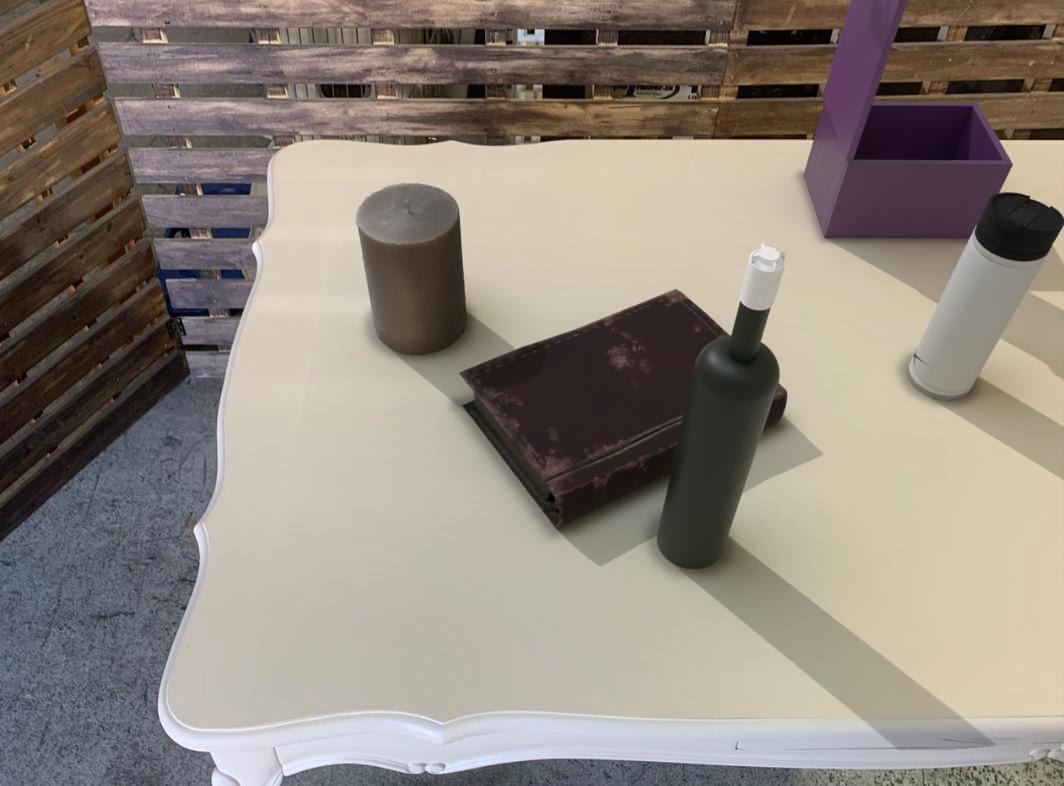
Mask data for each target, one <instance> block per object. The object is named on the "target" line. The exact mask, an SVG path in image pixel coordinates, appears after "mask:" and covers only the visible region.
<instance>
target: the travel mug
mask: <svg viewBox="0 0 1064 786" xmlns="http://www.w3.org/2000/svg"><path fill="white" fill-rule="evenodd" d="M1063 228H1064V216H1063V214H1062V213H1061V212H1060V210H1058V209H1057V208H1055V207H1054V206H1053V205H1050V206H1048V205H1047V204H1046V203H1045V204H1044V203H1043V202H1041V201H1038V200H1035V199H1032V198H1031V195H1029V194H1028V195H1027V194H1024V193H1021V192H1013V191H1012V192H1010V191H1003V192H999V193H998V194H995V195H993V196H992V197H991V198H990V199H989V201H988V203H987V205H986V207H985V209H984V211H983V214H982V216H981V218H980V220H979V222H978V224H977V225H976V226H975V229H974V231H973V233H972V235H971V237H970V239H968V242H967V243H966V245H965V246H964V247H965V248H964V249H963V252H962V253H961V256H960V257H959V260H958V262H957V264H956V266H955V268H954V270H953V272H952V274H951V277H950V278H949V281H948V282H947V285H946V287H945V288H944V291H943V293H942V295H941V297H940V299H939V301H938V302H937V305H936V308H935V309H934V312H933V313H932V315H931V318H930V320H929V322H928V324H927V326H926V328H925V330H924V332H923V334H922V337H921V339H920V341H919V343H918V345H917V346H916V349H915V351H914V352H913V355H912V357H911V360H909V363H908V366H907V367H906V377H907V380H908V381H909V383H910V385H911V386H912V387H913V388H914V389H915V390H917V391H918V392H919V393H921V394H922V395H924V396H926V397H930V398H932V399H935V400H939V401H956V400H959V399H962V398H964V397H965V396H967V395H968V394H969V392H970V391H971V389H972V388H973V385H974V384H975V382H976V380H977V379H978V377H979V375H980V374H981V372H982V370H983V368H984V367H985V365H986V363H987V361H988V360H989V358H990V357H991V354H992V353H993V351H994V350H995V348H996V346H997V344H998V343H999V341H1000V339H1001V337H1002V335H1003V334H1004V332H1005V330H1006V328H1007V327H1008V325H1009V324H1010V321H1011V320H1012V318H1013V317H1014V315H1015V313H1016V311H1017V309H1018V308H1019V306H1020V304H1021V303H1022V301H1023V299H1024V297H1025V295H1026V294H1027V292H1028V290H1029V289H1030V286H1032V283H1033V281H1034V280H1035V278H1036V276H1037V275H1038V273H1039V271H1040V269H1041V268H1042V266H1043V264H1044V262H1045V260H1046V258H1047V257H1048V255H1049V254H1050V251H1051V249H1052V248H1053V245H1054V243H1055V242H1056V240H1057V239H1058V237H1059V235H1060V233H1061V231H1062V230H1063Z"/></svg>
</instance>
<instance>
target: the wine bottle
mask: <svg viewBox="0 0 1064 786" xmlns="http://www.w3.org/2000/svg"><path fill="white" fill-rule="evenodd" d="M786 253H787V250H784V251H779V250H778V249H776V248H775V247H772V246H766V245H765V244H764V242H762V243H761V246H760V249H756V250H754V251H753V252H751V254H750V255H749V258H748V262H747V266H746V269H745V274H744V278H743V281H742V285H741V290H740V293H739V303H738V307H737V311H736V315H735V320H734V323H733V327H732V331H731V333H730V334H729V336H724V337H721V338H718V339H716V340H714V341H712V342H710V343H709V344H708V345H706V346H705V347H704V348H703V350H702V351H701V352H700V354H699V355H698V357H697V359H696V362H695V365H694V370H693V375H692V379H691V384H690V388H689V393H688V397H687V402H686V406H685V411H684V415H683V420H682V424H681V429H680V434H679V438H678V443H677V447H676V452H675V456H674V461H673V465H672V470H671V474H670V476H669V479H668V482H667V483H668V484H667V489H666V493H665V498H664V501H663V506H662V512H661V516H660V520H659V525H658V529H657V533H656V544H657V547H658V550H659V551H660V553H661V555H662V556H663V557H664V559H666V560H667V561H668V562H670V563H671V564H673V565H674V566H677V567H680V568H682V569H688V570H701V569H702V570H703V569H706V568H708V567H710V566H712V565H714V564H715V563H717V561H719V559H721V556H722V555H723V552H724V549H725V548H726V547H725V546H726V545H727V540H728V538H729V535H730V531H731V528H732V525H733V523H734V519H735V516H736V513H737V510H738V507H739V505H740V501H741V498H742V495H743V493H744V489H745V486H746V483H747V480H748V477H749V474H750V471H751V467H752V466H753V462H754V459H755V455H756V453H757V450H758V446H759V443H760V441H761V439H762V435H763V431H764V430H765V429H764V426H765V423H766V420H767V417H768V414H769V410H770V407H771V404H772V401H773V398H774V395H775V392H776V389H777V386H778V383H779V384H780V378H781V377H780V376H781V370H780V365H779V361H778V359H777V357H776V355H775V354H774V352H773V351H772V350H771V349H770V347H768V346H767V345H766V344H765V343H763V342H762V341H763V340H762V339H763V336H764V332H765V329H766V326H767V322H768V319H769V315H770V313H771V308H772V307H773V306H774V303H775V300H776V298H777V294H778V290H779V287H780V283H781V280H782V277H783V273H784V270H785V266H786V264H787V263H786V258H785V257H786ZM763 429H764V430H763Z"/></svg>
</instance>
